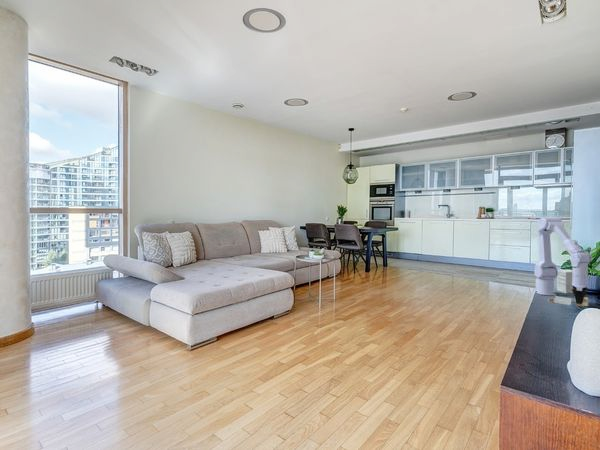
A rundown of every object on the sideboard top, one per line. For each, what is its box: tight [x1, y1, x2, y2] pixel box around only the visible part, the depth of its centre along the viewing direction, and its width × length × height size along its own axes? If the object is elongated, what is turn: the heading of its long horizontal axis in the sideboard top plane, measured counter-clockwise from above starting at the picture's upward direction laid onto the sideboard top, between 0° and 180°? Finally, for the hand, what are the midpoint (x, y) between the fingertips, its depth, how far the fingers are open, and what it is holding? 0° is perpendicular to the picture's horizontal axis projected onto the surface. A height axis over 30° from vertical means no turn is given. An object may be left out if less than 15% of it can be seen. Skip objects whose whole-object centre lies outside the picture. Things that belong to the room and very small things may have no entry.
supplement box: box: [556, 269, 574, 294], centre depth 181 cm, size 7×7×13 cm
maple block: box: [574, 296, 589, 307], centre depth 156 cm, size 5×4×4 cm
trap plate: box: [547, 298, 555, 304], centre depth 164 cm, size 3×7×1 cm, turn 137°
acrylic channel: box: [554, 295, 572, 306], centre depth 161 cm, size 6×7×2 cm
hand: (579, 302), depth 157 cm, fingers open, 7 cm apart
